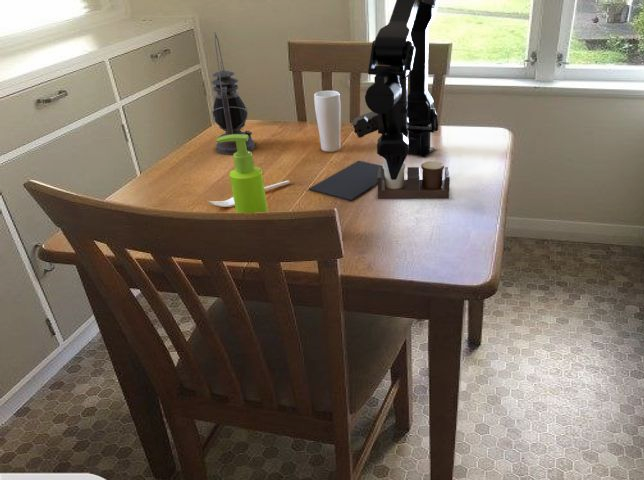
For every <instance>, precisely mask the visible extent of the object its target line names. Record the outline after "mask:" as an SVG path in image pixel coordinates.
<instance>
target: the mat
mask: <svg viewBox="0 0 644 480" xmlns="http://www.w3.org/2000/svg"><path fill="white" fill-rule="evenodd" d="M379 167H382V180H384V169H383V165H381V164H376V163H370V162H367V161H362V160H357V161H355V162H354V163H352V164H350V165H349V166H347V167H345V168H343V169H341V170H340V171H338V172H336V173H334V174H332V175H330V176H328V177H327V178H325V179H323V180H321V181H320V182H318V183H316V184H314V185H313V186H310V187H309V188H308V191H312V192H314V193H318V194H322V195H326V196H330V197H334V198H338V199H341V200H345V201H349V202H352V201H354V200H356V199H357V198H359V197H361V196H362V195H363V194H365V193H366V192H368V191H370V190H371V189H373V188H374V187H376V186H378V185H377V176H378V169H379Z"/></svg>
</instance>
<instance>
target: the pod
mask: <svg viewBox="0 0 644 480" xmlns="http://www.w3.org/2000/svg"><path fill="white" fill-rule="evenodd" d="M420 167H421V169H422V173H421V175H422V178H421V180H422V185H423V187H425V188H429V189H436V188H440V187H441V186H442V180H443V173H444V172H443V171H444V170H445V164H444V163H443V162H440V161H436V160H428V161H424V162H423V163H421V165H420Z"/></svg>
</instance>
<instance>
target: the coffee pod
mask: <svg viewBox="0 0 644 480" xmlns="http://www.w3.org/2000/svg"><path fill="white" fill-rule="evenodd" d="M382 166H383V169H384V180H385V187H387V188H390V189H398V188H401V187H403V186H404V180H405V170H406V169H407V166H406V163H403V165H402V167H401V169H400V172H399V174H398V177H397V179H396V180H391V177H390V173H389V169H388V165H387V162H385V163H383V164H382Z"/></svg>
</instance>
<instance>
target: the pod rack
mask: <svg viewBox="0 0 644 480" xmlns="http://www.w3.org/2000/svg"><path fill="white" fill-rule="evenodd" d="M406 172H407V176H406V179H404V186H403V187H401V188H398V189H390V188H387V187H385V180H382V167H379V169H378V176H377V185H376V186H377V199H378V200H382V199H383V200H392V199H393V200H400V199H401V200H405V199H406V200H409V199H411V200H414V199H415V200H416V199H417V200H418V199H419V200H427V199H428V200H429V199H431V200H434V199H435V200H440V199H441V200H444V199H446V200H447V199H450V181H451V176H450V169H449V167H448V166H444V179H442V186H441V187H440V188H436V189H429V188H425V187H423V185H422V179H420V167H419V166H408V167H407V171H406Z"/></svg>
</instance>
